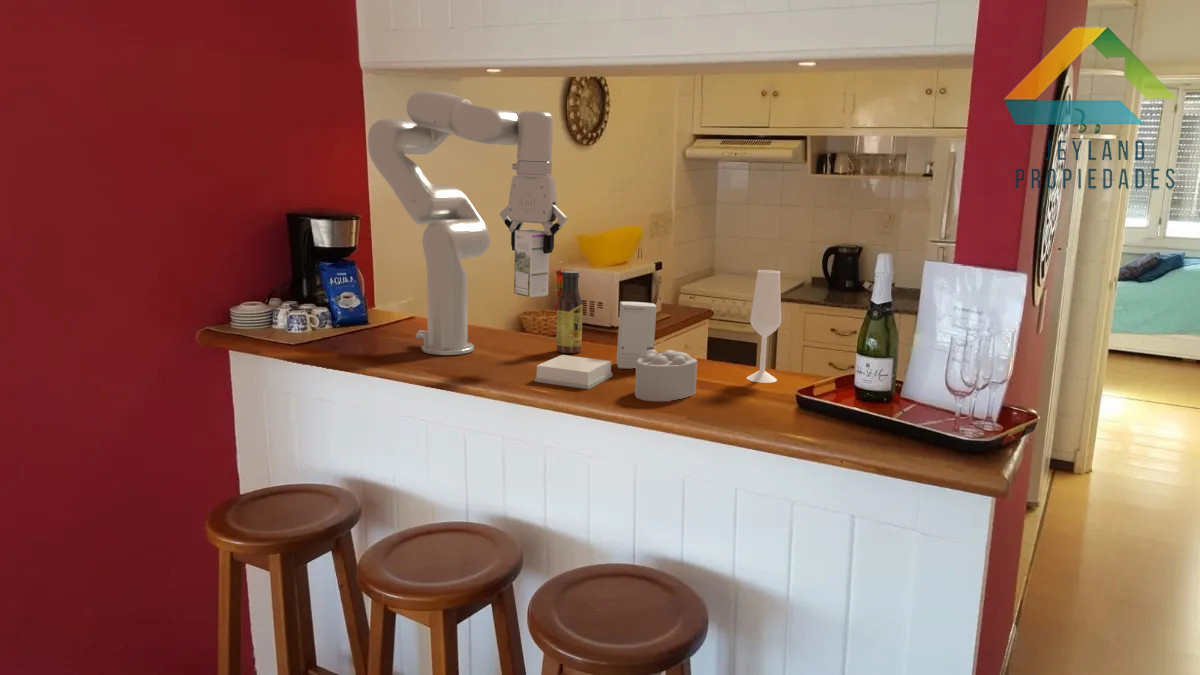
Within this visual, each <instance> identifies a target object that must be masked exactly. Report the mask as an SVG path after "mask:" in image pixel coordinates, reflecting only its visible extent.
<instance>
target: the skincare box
mask: <svg viewBox="0 0 1200 675" xmlns="http://www.w3.org/2000/svg"><path fill="white" fill-rule="evenodd" d="M618 317H619V318H618V332H617V333H618V334H617V347H616V348H617V351H616V365H617V369H627V370H629V369H630V370H631V369H632V370H633V368H635V370H636V361H637V360H638V359H639V358H640V357H641V356H644V354H645V352H646V351H648V350H651V349H654V350H655V348H654V347H655V334H656V322H657V320H656V319H657V305H656V304H655V303H654V302H642V301H641V302H640V301H620V302H619V316H618Z"/></svg>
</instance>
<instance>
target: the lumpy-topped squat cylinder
mask: <svg viewBox="0 0 1200 675" xmlns="http://www.w3.org/2000/svg"><path fill="white" fill-rule="evenodd" d="M697 372H698V360H697V359H696V358H695V357H691V355H690V354H688V353H686V352H682V351H676V350H673V349H666V350H665V351H663V352H660V353H659V352H658V351H657V350H656V349H655V348H654V349H651V350H648V351H646V352H645V354H644V356H641V357H640V358H639V359H638V360H637V361H636V369H635V382H634V383H635V384H634V385H635V386H634V396H635V398H637V399H639V400H642V401H646V402H647V401H648V402H649V401H650V402H672V401H671V400H677V399H682V398H685V397H688V396H691V395H693V394H695V393H696V392H697V390H696V389H697V378H698V377H697V374H698V373H697ZM696 394H697V393H696ZM696 394H695V395H696ZM682 400H683V399H682ZM677 401H678V400H677Z"/></svg>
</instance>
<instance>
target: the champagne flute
mask: <svg viewBox="0 0 1200 675" xmlns="http://www.w3.org/2000/svg"><path fill="white" fill-rule="evenodd" d="M781 296H782V295H781V271H778V270H774V269H773V270H772V269H771V270H770V269H758V270H757V273H756V280H755V287H754V293H753V298H752V306H751V310H750V311H751V312H750V318H749V321H750V322H749V323H750V324H751V326H752V328H753V329H754V331H755V332H756V333H757V334H758V335H760V336H761V340H760V341H761V342H760V343H761V346H760V358H759V360H760V361H759V370H757V371H756V372H754V373H752V374H750V375H748V376H747V377H746V379H747V380H748V381H751V382H755V383H761V384H763V383H765V384H769V383H770V384H771V383H776V382H778V379H777V378H776V377H775V376H773V375H772V374H770V373H769V372H767V371H766V361H767V360H766V359H767V345H768V337H769V336H771V335H772V334H773V333H775V332H776V331H777V330H778V328H780V326H781V324H782V304H781V303H782V302H781V300H782V298H781Z"/></svg>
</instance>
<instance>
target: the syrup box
mask: <svg viewBox="0 0 1200 675" xmlns="http://www.w3.org/2000/svg"><path fill="white" fill-rule="evenodd" d="M544 235H546V232H545V230H541V229H534V228H520V230H515V251H514V265H513V266H514V268H513V269H514V275H513V277H514V278H513V280H514V281H513V283H514V284H513V285H514V286H513V292H514V294H516V295H519V296H523V297H527V298H540V297H545V296H549V276H550V274H549V270H550V265H549V264H550V253H547V254H545V253H543V242H544Z"/></svg>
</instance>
